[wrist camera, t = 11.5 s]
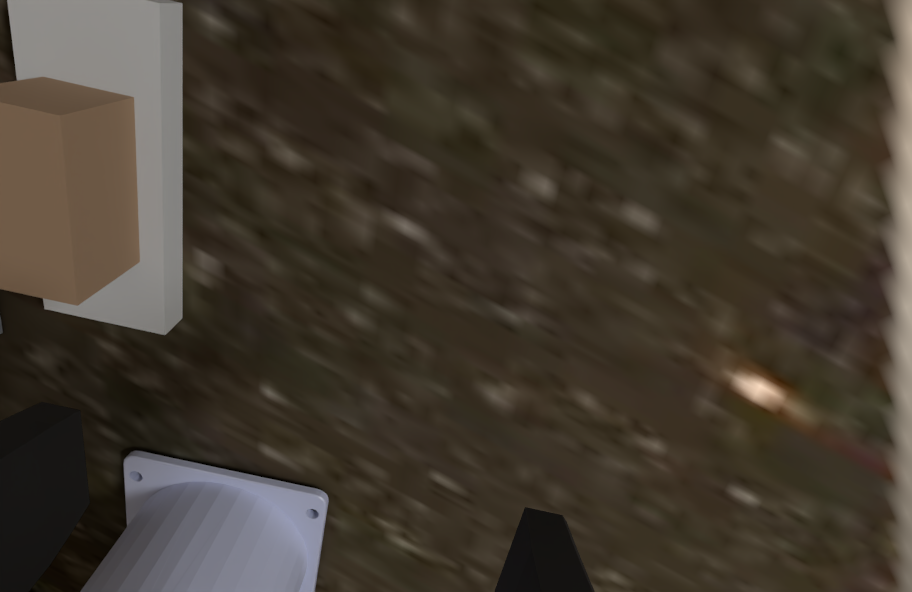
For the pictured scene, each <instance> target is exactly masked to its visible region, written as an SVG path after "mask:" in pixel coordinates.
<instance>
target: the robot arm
mask: <svg viewBox="0 0 912 592" xmlns="http://www.w3.org/2000/svg"><path fill="white" fill-rule="evenodd" d="M123 466H124V483H125V501H126V518H127V528H126V529H125V530H124V532H123V533H122V535H121V536H120V537H119V539H118V540H117V541H116V543H115V544H114V546H113V547H112V548H111V550H110V551H109V552H108V554H107V555H106V557H105V558H104V559H103V561H102V562H101V563H100V565H99V566H98V568H97V569H96V570H95V572H94V573H93V574H92V576H91V577H90V579H89V580H88V581H87V583H86V584H85V586H84V587H83V588H82V590H81V591H80V592H315V586H316V580H317V573H318V567H319V560H320V553H321V547H322V540H323V534H324V527H325V521H326V514H327V508H328V501H329V500H328V496H327V494H326V493H325V492H323V491H322V490H319V489H316V488H311V487H306V486H302V485H297V484H292V483H288V482H283V481H278V480H274V479H269V478H264V477H260V476H255V475H250V474H246V473H241V472H236V471H232V470H227V469H222V468H218V467H213V466H208V465H204V464H199V463H194V462H190V461H185V460H180V459H176V458H171V457H166V456H162V455H157V454H152V453H147V452H143V451H132V452H131V453H130V454H129V455H128V456H127V457H126V458H125V459H124V463H123ZM138 472H139V473H138ZM89 504H90V499H89V490H88V480H87V471H86V461H85V452H84V442H83V433H82V423H81V413H80V410H77V409H72V408H68V407H63V406H58V405H54V404H49V403H45V402H41V403H39V404H36V405H34V406H32V407H30V408H27V409H25V410H23V411H21V412H19V413H17V414H14V415H12V416H10V417H8V418H6V419H4V420H2V421H0V592H29V591H30V589H31V588H32V587H33V586H34V584H35V583H36V582H37V581H38V579H39V578H40V577H41V576H42V574H43V573H44V572H45V571H46V569H47V568H48V567H49V566H50V564H51V563H52V561H53V560H54V558H55V557H56V555H57V554H58V552H59V551H60V549H61V548H62V546H63V545H64V543H65V542H66V540H67V539H68V537H69V536H70V534H71V533H72V531H73V529H74V528H75V526H76V525H77V523H78V521H79V520H80V518H81V516H82V515H83V513H84V512H85V510H86V508H87V507H88V505H89ZM311 509H314V510H316V511H313V510H311ZM495 592H594V589H593V587H592V585H591V582H590V580H589V577H588V575H587V573H586V570H585V568H584V565H583V563H582V560H581V558H580V555H579V553H578V550H577V548H576V545H575V543H574V540H573V537H572V535H571V532H570V530H569V527H568V524H567V522H566V520H565V519H564V517H563V516H562V515H559V514H554V513H549V512H545V511H540V510H536V509H531V508H526V507H525V509H524V512H523V515H522V517H521V520H520V523H519V526H518V528H517V531H516V534H515V537H514V539H513V542H512V545H511V548H510V550H509V553H508V556H507V559H506V561H505V564H504V567H503V570H502V572H501V575H500V578H499V581H498V583H497V586H496V589H495Z"/></svg>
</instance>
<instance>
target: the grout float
mask: <svg viewBox="0 0 912 592" xmlns="http://www.w3.org/2000/svg"><path fill="white" fill-rule="evenodd" d="M7 2H8V11H9V19H10V27H11V36H12V44H13V52H14V61H15V69H16V77H17V81H12V82H5V83H0V289H3V290H7V291H12V292H16V293H21V294H25V295H30V296H35V297H39V298H43V302H44V309H47V310H52V311H56V312H61V313H65V314H70V315H75V316H79V317H84V318H88V319H93V320H98V321H102V322H107V323H111V324H116V325H121V326H125V327H130V328H134V329H139V330H144V331H148V332H153V333H157V334H162V335H166V334H167V333H168V332H169V331H170V330H171V329H172V328H173V327H174V326H175V325H176V324H177V323H178V322H179V321H180V320H181V319H182V3H179V2H175V1H170V0H7Z"/></svg>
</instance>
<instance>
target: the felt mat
mask: <svg viewBox="0 0 912 592" xmlns="http://www.w3.org/2000/svg"><path fill="white" fill-rule="evenodd" d="M2 333H3V329H2V323H1V317H0V334H2Z"/></svg>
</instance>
